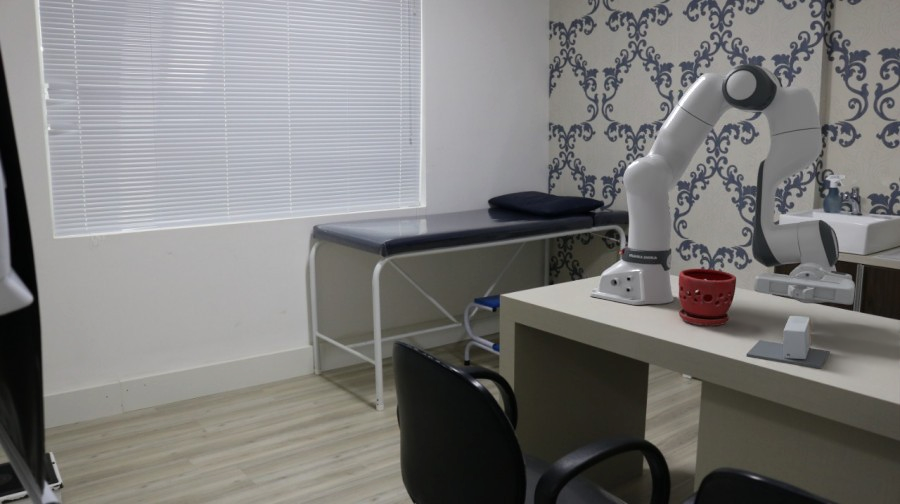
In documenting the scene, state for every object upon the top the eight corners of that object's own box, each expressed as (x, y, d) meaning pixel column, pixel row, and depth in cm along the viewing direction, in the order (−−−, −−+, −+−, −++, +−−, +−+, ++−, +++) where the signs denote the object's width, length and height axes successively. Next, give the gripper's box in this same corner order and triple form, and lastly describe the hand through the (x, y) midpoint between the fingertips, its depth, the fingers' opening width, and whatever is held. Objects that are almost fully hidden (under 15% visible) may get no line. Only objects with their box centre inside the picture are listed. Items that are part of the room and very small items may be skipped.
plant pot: (669, 323, 179) (671, 274, 177) (686, 312, 190) (688, 266, 188) (724, 332, 172) (728, 281, 170) (739, 319, 183) (742, 272, 180)
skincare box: (811, 343, 159) (806, 360, 149) (789, 341, 161) (783, 358, 151) (811, 315, 158) (805, 331, 148) (789, 314, 160) (782, 330, 150)
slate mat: (746, 356, 154) (746, 353, 154) (759, 342, 164) (759, 340, 164) (820, 368, 146) (820, 366, 146) (829, 353, 156) (829, 351, 156)
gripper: (762, 264, 176) (748, 273, 164) (859, 275, 164) (851, 286, 153) (759, 290, 177) (745, 301, 166) (856, 303, 165) (848, 316, 154)
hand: (797, 294), depth 159 cm, fingers closed
